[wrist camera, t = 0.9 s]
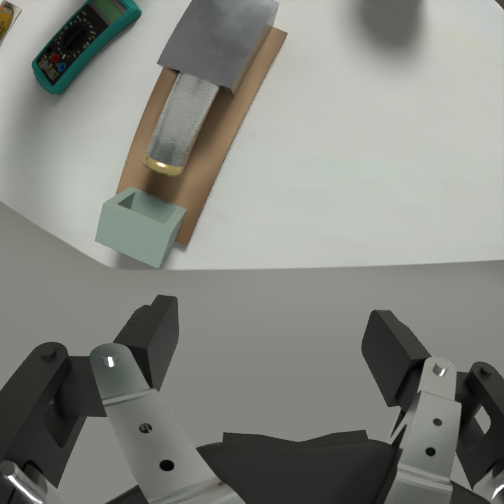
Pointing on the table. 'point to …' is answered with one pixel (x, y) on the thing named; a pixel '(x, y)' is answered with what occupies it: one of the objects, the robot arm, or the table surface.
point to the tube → (179, 124)
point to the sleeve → (219, 40)
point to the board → (207, 142)
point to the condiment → (7, 17)
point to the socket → (140, 225)
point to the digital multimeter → (81, 41)
